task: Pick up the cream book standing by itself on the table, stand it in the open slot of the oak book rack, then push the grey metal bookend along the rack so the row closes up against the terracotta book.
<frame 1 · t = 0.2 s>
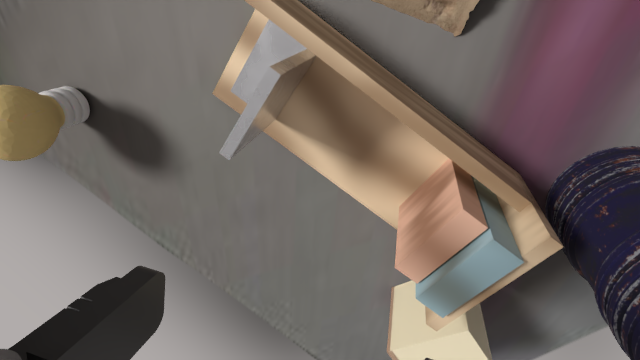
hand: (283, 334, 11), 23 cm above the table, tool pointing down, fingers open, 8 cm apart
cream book: (435, 291, 37), on the table
bookend: (252, 83, 26), point 6 cm above the table, slide at 0.0 cm
storage jar: (611, 200, 29), on the table
rack: (361, 130, 31), on the table
light bulb: (79, 102, 37), on the table
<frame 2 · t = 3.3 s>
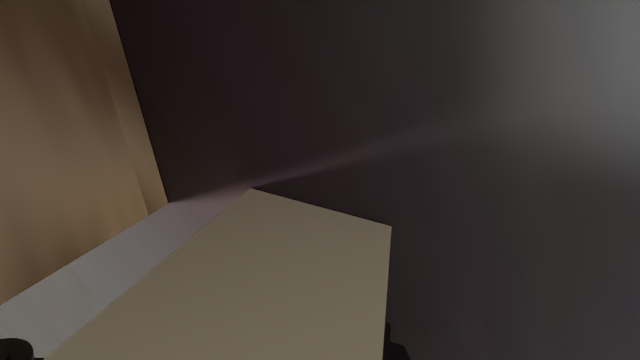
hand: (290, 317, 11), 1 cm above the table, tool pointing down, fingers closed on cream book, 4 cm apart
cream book: (299, 298, 12), on the table, touching gripper
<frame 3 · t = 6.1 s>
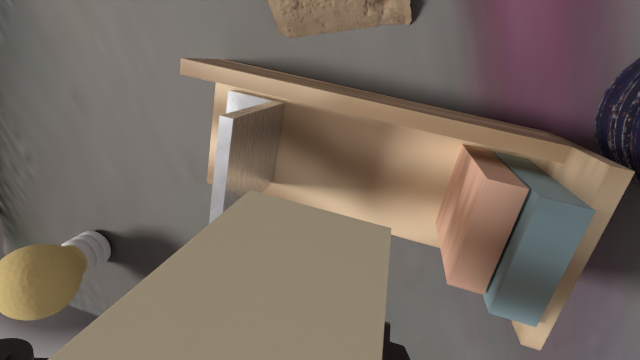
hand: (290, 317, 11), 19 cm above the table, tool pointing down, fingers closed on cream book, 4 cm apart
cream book: (299, 300, 12), point 18 cm above the table, touching gripper
bookend: (227, 150, 25), point 6 cm above the table, slide at 0.0 cm
rack: (360, 158, 29), on the table
light bulb: (101, 243, 38), on the table
when the fingers open (3 cm above the table, at t = 9.0 s): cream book drops 1 cm, resting on rack.
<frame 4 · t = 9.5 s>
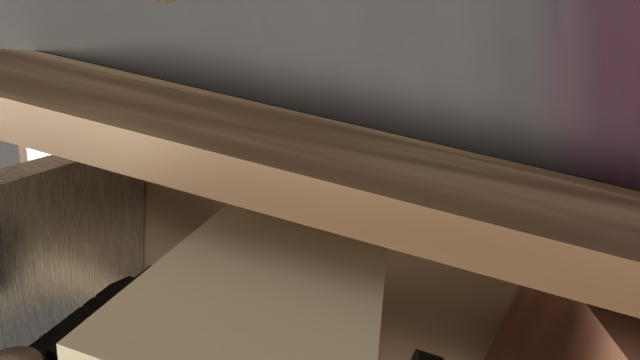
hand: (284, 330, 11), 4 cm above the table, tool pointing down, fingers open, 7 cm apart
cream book: (307, 276, 13), point 1 cm above the table, touching rack
rack: (314, 252, 14), on the table
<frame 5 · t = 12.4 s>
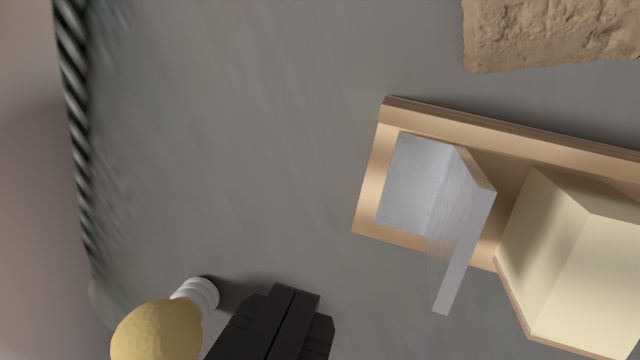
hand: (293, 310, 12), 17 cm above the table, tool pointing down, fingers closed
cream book: (545, 221, 24), point 1 cm above the table, touching rack
bookend: (419, 208, 21), point 6 cm above the table, slide at 0.0 cm
rack: (542, 209, 25), on the table
light bulb: (205, 289, 34), on the table
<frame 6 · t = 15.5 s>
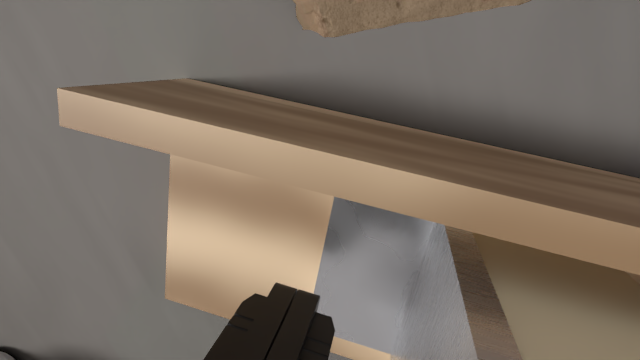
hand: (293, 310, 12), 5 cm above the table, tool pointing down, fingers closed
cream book: (489, 303, 14), point 1 cm above the table, touching rack
bookend: (366, 349, 10), point 6 cm above the table, slide at 5.7 cm, touching hand
rack: (455, 268, 15), on the table
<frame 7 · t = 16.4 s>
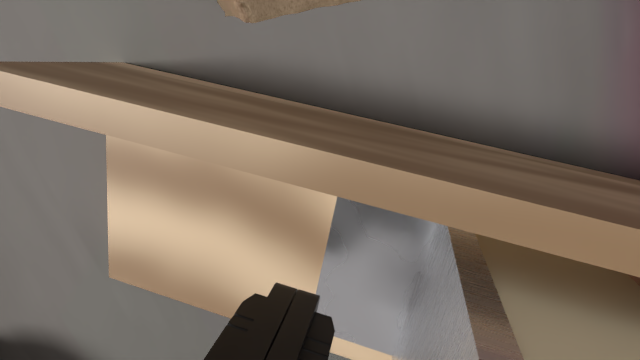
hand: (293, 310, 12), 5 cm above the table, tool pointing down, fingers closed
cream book: (491, 305, 14), point 1 cm above the table, touching bookend, rack
bookend: (367, 350, 10), point 6 cm above the table, slide at 9.0 cm, touching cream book, hand
rack: (378, 248, 15), on the table
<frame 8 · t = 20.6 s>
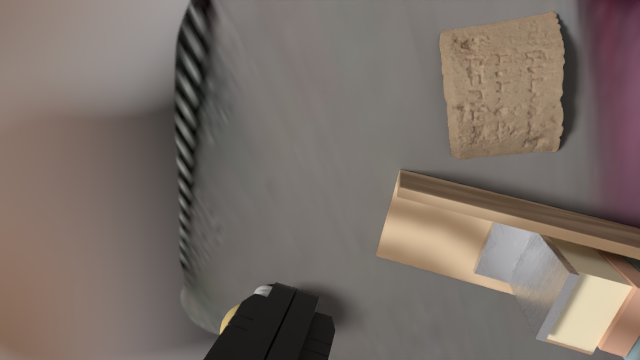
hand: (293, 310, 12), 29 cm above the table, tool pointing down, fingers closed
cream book: (547, 262, 38), point 1 cm above the table, touching rack
bookend: (517, 272, 34), point 6 cm above the table, slide at 9.0 cm
rack: (501, 242, 39), on the table
clay tablet: (496, 91, 35), on the table
light bulb: (269, 293, 48), on the table
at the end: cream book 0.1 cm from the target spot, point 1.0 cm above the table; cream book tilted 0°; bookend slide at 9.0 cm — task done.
